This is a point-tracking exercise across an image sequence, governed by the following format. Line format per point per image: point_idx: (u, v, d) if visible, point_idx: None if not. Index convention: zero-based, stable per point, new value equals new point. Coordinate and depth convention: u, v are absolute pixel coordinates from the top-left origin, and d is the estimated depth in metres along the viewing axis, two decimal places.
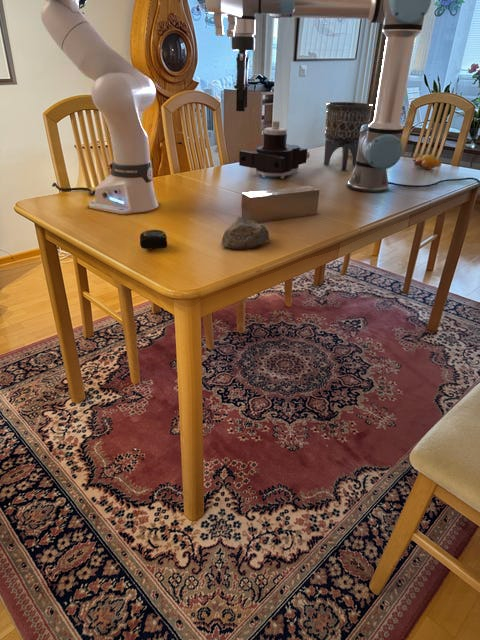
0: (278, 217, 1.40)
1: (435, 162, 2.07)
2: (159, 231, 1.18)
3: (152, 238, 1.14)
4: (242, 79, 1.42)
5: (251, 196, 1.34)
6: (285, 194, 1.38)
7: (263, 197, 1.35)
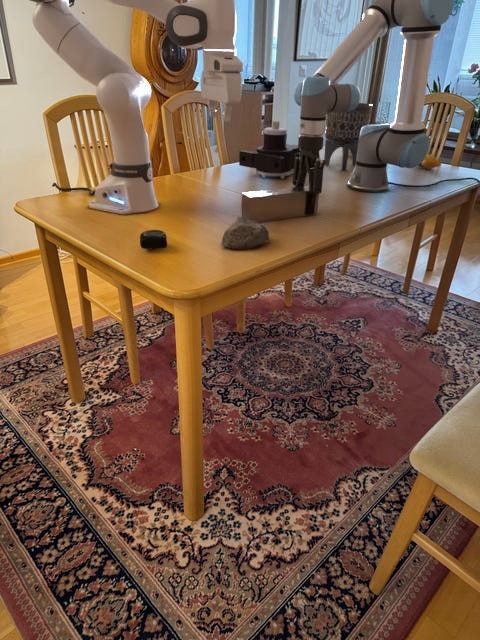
0: (278, 217, 1.40)
1: (435, 162, 2.07)
2: (159, 231, 1.18)
3: (152, 238, 1.14)
4: (320, 187, 1.38)
5: (251, 196, 1.34)
6: (285, 194, 1.38)
7: (263, 197, 1.35)
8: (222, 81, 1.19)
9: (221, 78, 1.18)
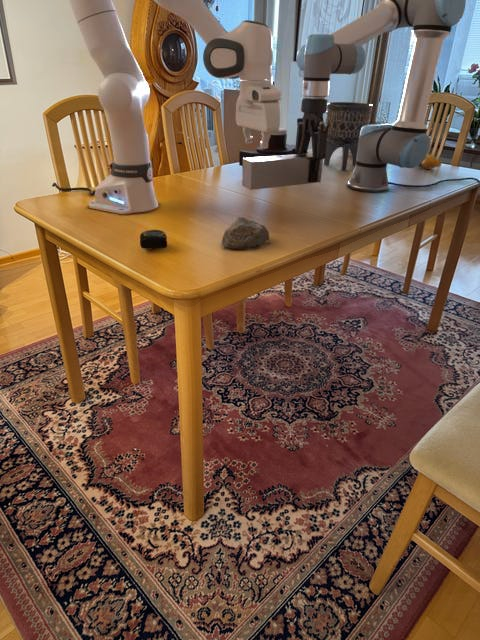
0: (280, 184, 1.35)
1: (435, 162, 2.07)
2: (159, 231, 1.18)
3: (152, 238, 1.14)
4: (324, 152, 1.33)
5: (252, 161, 1.29)
6: (287, 159, 1.33)
7: (265, 162, 1.30)
8: (260, 110, 1.20)
9: (259, 107, 1.19)
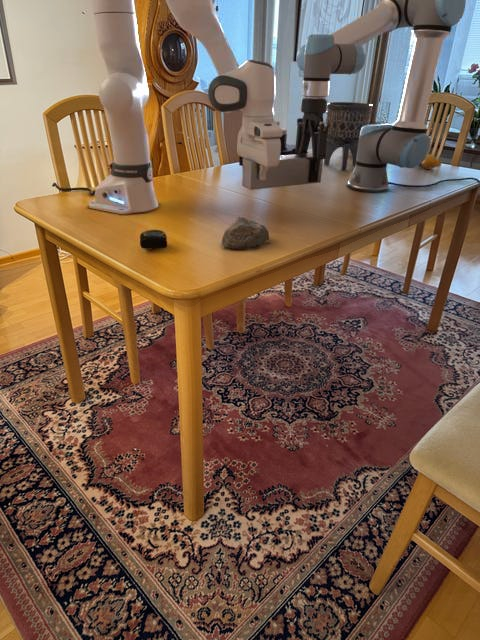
0: (280, 184, 1.35)
1: (435, 162, 2.07)
2: (159, 231, 1.18)
3: (152, 238, 1.14)
4: (324, 152, 1.33)
5: (252, 161, 1.29)
6: (287, 160, 1.33)
7: None
8: (261, 145, 1.24)
9: (260, 143, 1.23)
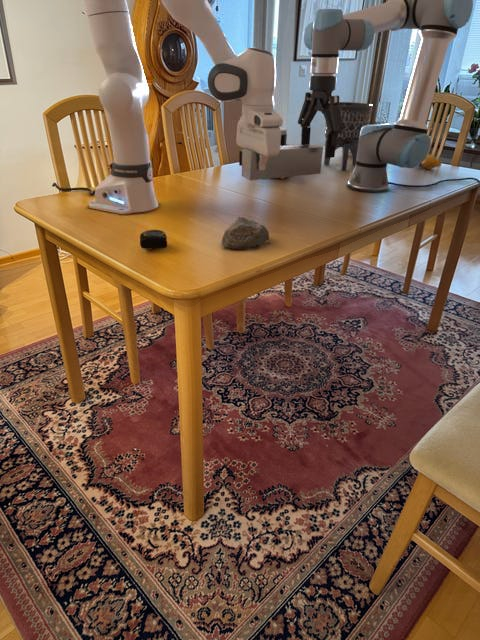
0: (280, 175, 1.34)
1: (435, 162, 2.07)
2: (159, 231, 1.18)
3: (152, 238, 1.14)
4: (340, 124, 1.27)
5: (252, 151, 1.28)
6: (287, 150, 1.32)
7: None
8: (261, 134, 1.23)
9: (260, 132, 1.22)
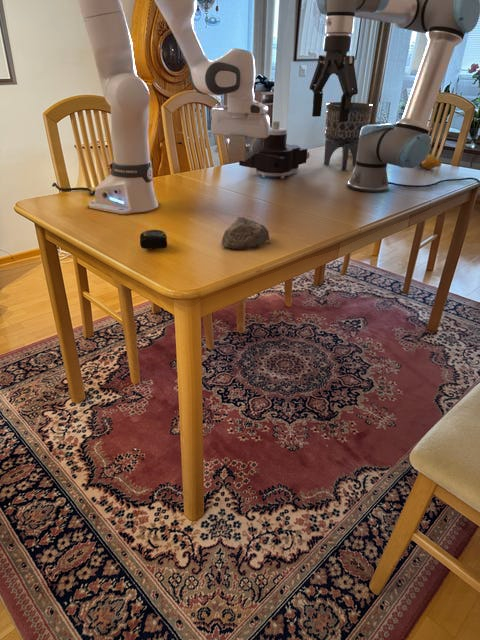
0: (252, 154, 1.62)
1: (435, 162, 2.07)
2: (159, 231, 1.18)
3: (152, 238, 1.14)
4: (355, 85, 1.24)
5: (243, 136, 1.51)
6: None
7: None
8: (254, 121, 1.49)
9: (255, 118, 1.48)
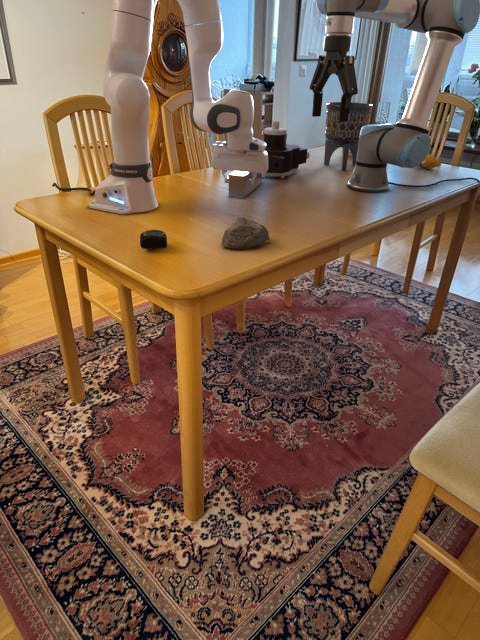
0: (251, 190, 1.69)
1: (435, 162, 2.07)
2: (159, 231, 1.18)
3: (152, 238, 1.14)
4: (355, 85, 1.24)
5: (242, 175, 1.58)
6: None
7: (247, 174, 1.60)
8: (253, 157, 1.54)
9: (254, 155, 1.54)
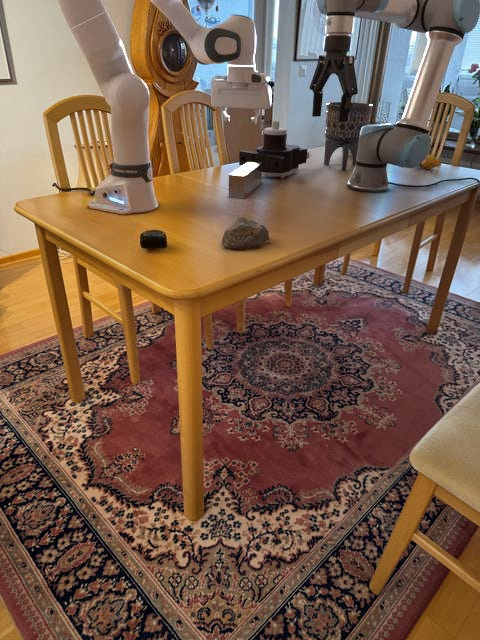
0: (251, 190, 1.69)
1: (435, 162, 2.07)
2: (159, 231, 1.18)
3: (152, 238, 1.14)
4: (355, 85, 1.24)
5: (242, 175, 1.58)
6: (253, 169, 1.67)
7: (247, 174, 1.60)
8: (255, 91, 1.44)
9: (256, 89, 1.43)
